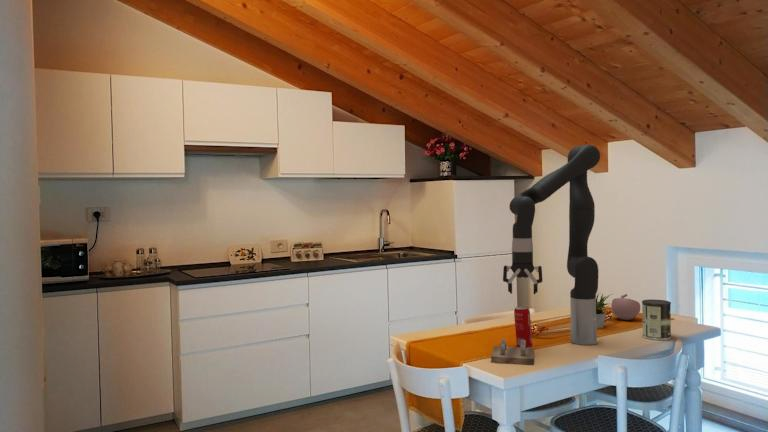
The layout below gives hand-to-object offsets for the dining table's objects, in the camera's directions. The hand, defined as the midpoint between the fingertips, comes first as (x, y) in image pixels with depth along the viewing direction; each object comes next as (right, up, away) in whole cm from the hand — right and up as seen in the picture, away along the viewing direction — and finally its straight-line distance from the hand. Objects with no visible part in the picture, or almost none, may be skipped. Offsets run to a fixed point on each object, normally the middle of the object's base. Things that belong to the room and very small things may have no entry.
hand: (522, 293), depth 212 cm
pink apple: (+57, -18, +44) cm, 74 cm away
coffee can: (+56, -19, +12) cm, 60 cm away
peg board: (-7, -21, -13) cm, 25 cm away
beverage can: (0, -20, +1) cm, 20 cm away
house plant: (+38, -19, +32) cm, 53 cm away
